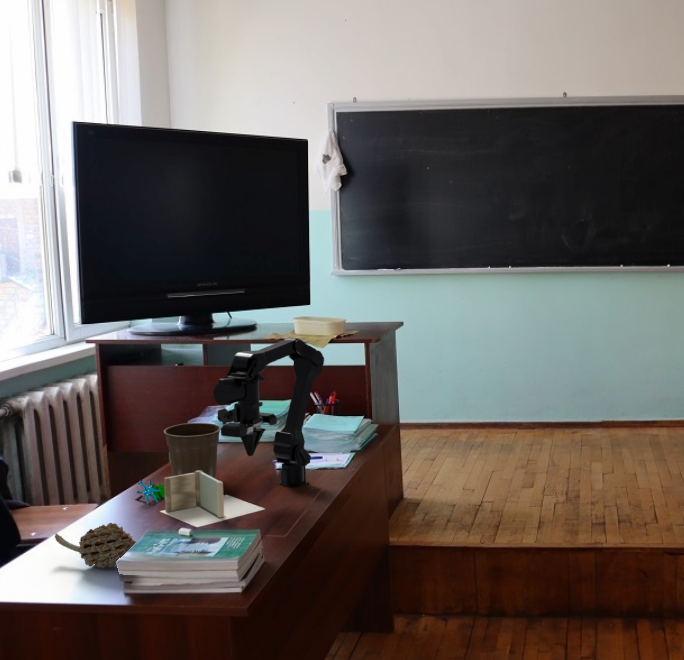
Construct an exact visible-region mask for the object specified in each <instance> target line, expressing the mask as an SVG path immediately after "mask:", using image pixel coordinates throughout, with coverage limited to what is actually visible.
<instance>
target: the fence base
mask: <svg viewBox="0 0 684 660" xmlns="http://www.w3.org/2000/svg"><path fill="white" fill-rule="evenodd" d="M199 472H203V471H201V470H198V471H195V473H189V474H183V475H178V476H173V475H172V476H166V477H163V485H164V489H165V498H164V506H165V507H164V510H165V511H166V512H171V511H175V510H180V509H185V508H190V507H195V506H201V502H200V477H199ZM195 486H196V488H195Z"/></svg>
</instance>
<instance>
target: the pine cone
mask: <svg viewBox="0 0 684 660" xmlns="http://www.w3.org/2000/svg"><path fill="white" fill-rule="evenodd" d="M54 538H55V541H56V542H57V543H58V544H60V546H62V547H64V548H67V549H69V550H71V551H74V552H76V553H79V555H80V559H82V560H84V563H85V565H86V566H88V567H93V566H96V567H97V568H102V569H104V568H105V567H106V566H107V567H109V568H112V567H115V566H116V565H117V564H116V561H117V560H118V559H119V558H121V557H122V556H123V555H124V554H125V553H126V552H127V551H128V550H129V549H130V548H131V547H132V546H133V545H134V544H135V543H136V544H137V541H136V540H134V539H133V536H132V535H131V533H130V532H128V533H127V532H126V530H124V528H123V526H120V527H119V526H118V524H117V523H112V522H109V523H107V524H106V525H105V524H101V525H100V526H98V527H96V528H94V529H92V528H91V529H90V528H89V530H88V531H86V533H85V534H84V535H82V536H81V537H80V538H79V539H80V540H79V542H78V544H79V545H77V544H73V543H71V542H69V541H68V540H66V539H64V538H63V537H62V536H61V535H59V533H57V532H56V533H55V535H54ZM94 564H95V565H94Z"/></svg>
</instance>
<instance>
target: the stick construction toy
mask: <svg viewBox="0 0 684 660" xmlns="http://www.w3.org/2000/svg"><path fill="white" fill-rule="evenodd" d="M147 481H148V486H147V485H146V484H145V483H143V479H142V478H141V479H140V480H139V482H138V483H137V484H138V485H141V486H142V488H143V491H141V490H137V491H136V494H141V495H140V496H138V497H137V498H136V499H134V501H140V500H141V499H143V500H144V499H146V505H151V503H150V501H149V500H150V499H149V498H151V499H153V500H154V501H155V502H156V503H157V504H159V500H161V499H165V489H164V484H158V485H156V484H152V480H151V477H149V478H148V479H147Z"/></svg>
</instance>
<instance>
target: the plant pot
mask: <svg viewBox="0 0 684 660" xmlns="http://www.w3.org/2000/svg"><path fill="white" fill-rule="evenodd" d="M221 427H222V426H220V425H219V424H214V423H208V422H189V423H188V422H187V423H180V424H175V425H172V426H169V427H166V428H165V429H164V430H163V434H164V435H165V439H166V445H167V446H168V452H169V460H170V467H171V473H172V476H178V475H183V474H189V473H195V471H198V470H201V471H203V473H205V474H207V475H209V476H211V477H213V478H215V479H217V463H218V462H217V461H218V443H219V442H220V433H221ZM195 488H196V486H195Z"/></svg>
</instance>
